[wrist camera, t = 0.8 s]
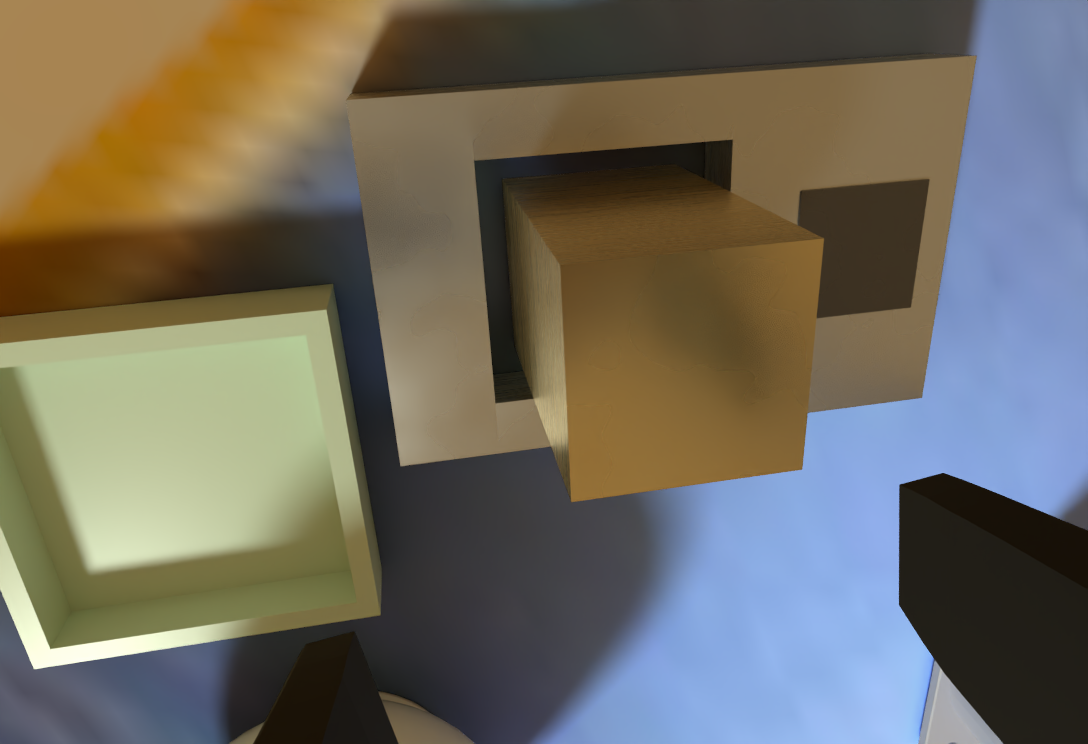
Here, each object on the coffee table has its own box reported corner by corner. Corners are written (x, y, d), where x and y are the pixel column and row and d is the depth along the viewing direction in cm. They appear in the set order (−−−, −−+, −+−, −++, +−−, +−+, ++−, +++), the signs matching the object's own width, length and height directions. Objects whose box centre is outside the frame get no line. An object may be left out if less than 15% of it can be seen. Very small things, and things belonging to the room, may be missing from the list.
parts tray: (333, 283, 18) (326, 309, 16) (382, 569, 21) (380, 615, 19) (-51, 322, 17) (-100, 353, 15) (63, 616, 20) (34, 669, 18)
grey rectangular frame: (930, 53, 18) (978, 55, 16) (885, 372, 21) (922, 398, 20) (350, 93, 16) (345, 100, 15) (400, 433, 20) (400, 467, 18)
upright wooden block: (674, 163, 18) (824, 238, 12) (672, 327, 20) (802, 469, 13) (501, 178, 17) (560, 265, 11) (514, 344, 19) (571, 501, 13)
